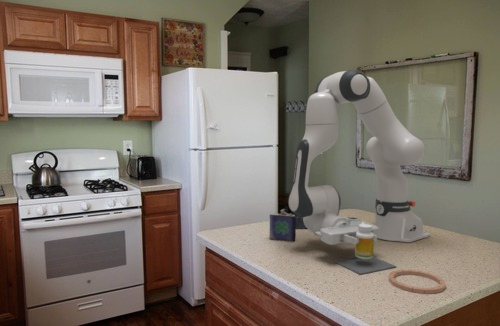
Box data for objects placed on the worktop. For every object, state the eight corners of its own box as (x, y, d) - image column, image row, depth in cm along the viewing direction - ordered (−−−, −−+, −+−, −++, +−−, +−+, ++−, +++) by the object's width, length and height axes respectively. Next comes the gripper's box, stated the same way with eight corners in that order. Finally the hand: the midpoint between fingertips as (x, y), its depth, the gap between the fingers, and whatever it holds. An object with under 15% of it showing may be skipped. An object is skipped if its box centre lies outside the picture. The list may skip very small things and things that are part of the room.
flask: (268, 239, 151) (269, 209, 150) (270, 237, 154) (271, 207, 153) (294, 242, 148) (295, 211, 147) (296, 240, 151) (297, 209, 149)
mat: (368, 255, 133) (368, 254, 133) (396, 267, 122) (396, 266, 122) (334, 262, 127) (334, 260, 127) (360, 274, 116) (360, 273, 116)
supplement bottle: (373, 260, 121) (375, 228, 120) (355, 258, 122) (356, 227, 121) (372, 254, 126) (373, 224, 125) (354, 253, 127) (355, 222, 126)
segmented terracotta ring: (414, 270, 120) (414, 266, 120) (457, 287, 107) (457, 283, 107) (377, 277, 114) (377, 274, 114) (418, 297, 101) (419, 293, 101)
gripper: (312, 223, 130) (339, 233, 118) (361, 217, 139) (391, 226, 127) (311, 242, 131) (338, 254, 118) (360, 235, 140) (390, 246, 127)
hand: (366, 240), depth 123 cm, fingers closed on supplement bottle, 5 cm apart
